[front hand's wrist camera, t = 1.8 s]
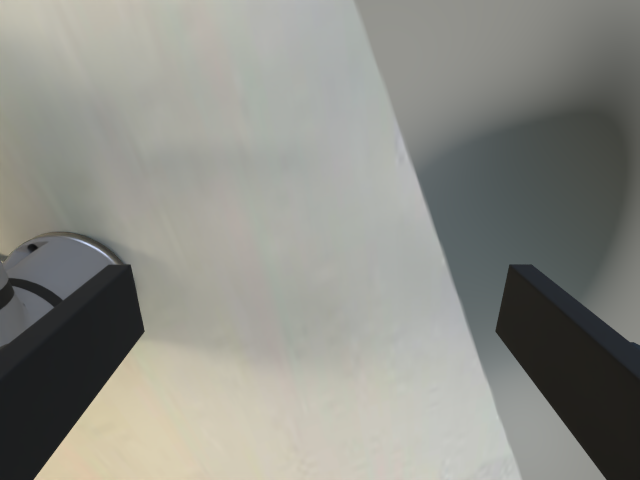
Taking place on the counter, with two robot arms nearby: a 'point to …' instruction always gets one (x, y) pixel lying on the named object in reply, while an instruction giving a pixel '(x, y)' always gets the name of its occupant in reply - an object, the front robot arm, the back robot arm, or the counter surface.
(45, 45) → the counter surface
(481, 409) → the counter surface
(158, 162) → the counter surface
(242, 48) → the counter surface
